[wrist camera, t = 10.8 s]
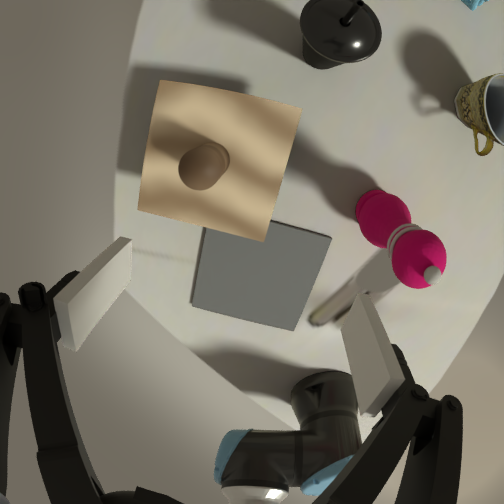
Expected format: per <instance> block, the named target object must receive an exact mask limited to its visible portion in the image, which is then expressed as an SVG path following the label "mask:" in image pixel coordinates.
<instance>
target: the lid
mask: <svg viewBox="0 0 504 504" xmlns="http://www.w3.org/2000/svg"><path fill="white" fill-rule="evenodd" d="M301 113H302V109H301V108H298V107H294V106H291V105H287V104H283V103H280V102H276V101H272V100H268V99H264V98H260V97H256V96H252V95H247V94H243V93H238V92H233V91H229V90H224V89H218V88H213V87H207V86H201V85H195V84H189V83H182V82H175V81H167V80H160V82H159V86H158V90H157V95H156V99H155V104H154V108H153V113H152V118H151V123H150V128H149V134H148V139H147V145H146V151H145V157H144V164H143V170H142V177H141V185H140V193H139V201H138V210H139V211H143V212H147V213H151V214H155V215H159V216H163V217H167V218H171V219H175V220H179V221H183V222H187V223H191V224H195V225H199V226H203V227H207V228H210V229H214V230H218V231H222V232H226V233H230V234H234V235H237V236H241V237H245V238H249V239H253V240H257V241H260V242H264V240H265V237H266V233H267V230H268V226H269V223H270V220H271V216H272V213H273V209H274V206H275V203H276V199H277V196H278V192H279V189H280V186H281V182H282V179H283V175H284V172H285V168H286V165H287V161H288V158H289V155H290V151H291V148H292V144H293V141H294V137H295V134H296V130H297V127H298V123H299V120H300V116H301Z"/></svg>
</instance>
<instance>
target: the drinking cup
mask: <svg viewBox="0 0 504 504" xmlns="http://www.w3.org/2000/svg"><path fill="white" fill-rule="evenodd" d="M300 27H301V31H302V34H303V56H304V58H305V60H306V62H307V63H308V64H309V65H311V66H312V67H314V68H317V69H329V68H332V67H335V66H338V65H341V64H344V63H355V62H359V61H362V60H365V59H367V58H368V57H370V56H371V55H372V54H374V52H375V51H376V50H377V49H378V47H379V45H380V42H381V37H382V32H381V26H380V23H379V20H378V18H377V16H376V15H375V13H374V12H373V11H372V9H371V8H370V7H369V6H368V5H366V4H365V3H364V2H363V1H362V0H310V1H309V2H308V3H307V4H306V5H305V6H304V8H303V10H302V13H301V17H300Z"/></svg>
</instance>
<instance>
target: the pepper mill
mask: <svg viewBox="0 0 504 504" xmlns="http://www.w3.org/2000/svg"><path fill="white" fill-rule="evenodd" d="M356 218H357V220H358V222H359V226H360V229H361V232H362V234H363V235H364V237H365V238H366V239H367V240H368V241H369V242H370V243H372V244H373V245H375V246H377V247H380V248H387V253H388V256H389V258H390V259H391V261H392V267H393V271H394V273H395V275H396V276H397V278H398V279H399V280H400V281H401V282H402V283H403V284H405V285H406V286H408V287H411V288H416V289H420V288H426V287H428V286H431V285H435V284H437V283H438V282H439V281H440V279H441V275H442V273H443V272H444V269H445V266H446V250H445V248H444V245H443V243H442V242H441V240H440V239H439V238H438V237H437V236H436V235H435V234H433V233H432V232H430V231H428V230H423V229H422V228H421V227H419V226H418V225H416V224H411V215H410V212H409V210H408V208H407V206H406V205H405V203H404V202H403V201H402V200H401V199H400V198H398V197H397V196H395V195H392V194H388V193H386V192H384V191H382V190H372V191H369V192H367V193H365V194H364V195H363V196H362V197H361V198H360V199H359V201H358V203H357V206H356Z"/></svg>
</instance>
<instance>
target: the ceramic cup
mask: <svg viewBox="0 0 504 504" xmlns="http://www.w3.org/2000/svg"><path fill="white" fill-rule="evenodd" d="M454 103H455V107H456V112H457V117H458V118H459V119H460V120H461V121H462V122H463V123H464V124H465V125H466V126H467V127H468V128H471V129H473V132H474V139H475V151H476V153H477V154H478V155H480V156H485V155H487V154H488V153H489V152H490V151H491V150H492V148H493V144H494V143H493V141H495V142H497V143H499V144H501V145H503V146H504V74H503V73H499V74H494V75H491V76H488V77H485V78H483V79H480V80H479V81H477V82H474V83H471V84H469V85H466V86H463V87H461V88H460V89H459V91H458V94H457V96H456V98H455V100H454ZM477 133H481V134H483V135H485V136H486V137H487V141H486V145H485V148H484V149H483V150H482V151H481V152H479V151H478V139H477Z"/></svg>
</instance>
